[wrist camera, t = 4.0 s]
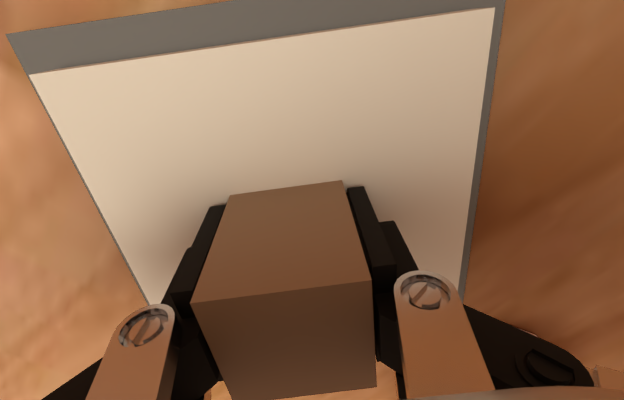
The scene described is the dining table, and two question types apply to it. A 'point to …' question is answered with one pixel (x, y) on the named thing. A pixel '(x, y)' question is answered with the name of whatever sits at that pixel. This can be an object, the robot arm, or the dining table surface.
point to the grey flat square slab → (234, 29)
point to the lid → (284, 179)
